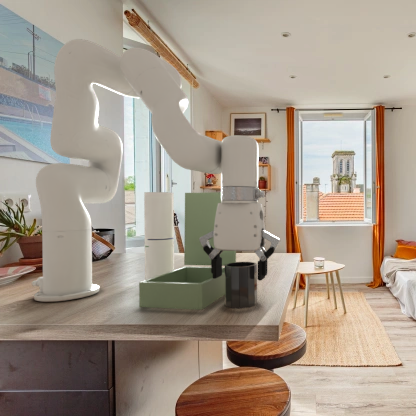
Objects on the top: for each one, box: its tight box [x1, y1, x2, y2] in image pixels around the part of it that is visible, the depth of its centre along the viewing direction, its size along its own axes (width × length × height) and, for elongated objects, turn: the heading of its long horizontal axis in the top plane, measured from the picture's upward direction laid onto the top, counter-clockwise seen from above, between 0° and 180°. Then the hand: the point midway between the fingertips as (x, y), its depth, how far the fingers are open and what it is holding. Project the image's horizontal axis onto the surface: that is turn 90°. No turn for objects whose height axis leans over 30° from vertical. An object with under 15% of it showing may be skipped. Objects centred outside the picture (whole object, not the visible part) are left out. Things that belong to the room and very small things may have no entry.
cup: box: [224, 261, 258, 310], centre depth 68 cm, size 6×6×9 cm
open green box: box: [138, 266, 225, 311], centre depth 74 cm, size 18×14×6 cm
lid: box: [183, 191, 237, 267], centre depth 83 cm, size 18×14×1 cm
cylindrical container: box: [143, 191, 175, 281], centre depth 88 cm, size 7×7×25 cm
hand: (239, 278), depth 68 cm, fingers open, 9 cm apart
